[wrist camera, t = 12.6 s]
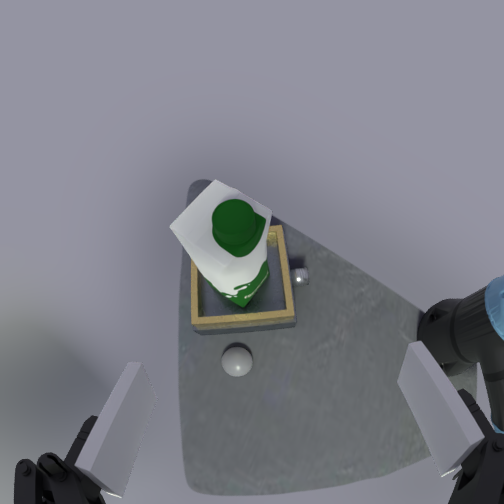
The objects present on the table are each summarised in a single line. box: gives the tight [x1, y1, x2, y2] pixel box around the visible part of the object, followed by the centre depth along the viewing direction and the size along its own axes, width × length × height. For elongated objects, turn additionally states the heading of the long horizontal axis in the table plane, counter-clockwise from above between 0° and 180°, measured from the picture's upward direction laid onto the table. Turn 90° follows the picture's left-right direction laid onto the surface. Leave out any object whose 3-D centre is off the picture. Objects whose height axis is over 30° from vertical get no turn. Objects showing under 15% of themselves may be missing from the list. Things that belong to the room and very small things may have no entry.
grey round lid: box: [222, 347, 253, 376], centre depth 43 cm, size 5×5×1 cm
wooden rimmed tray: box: [191, 225, 309, 335], centre depth 45 cm, size 19×16×8 cm
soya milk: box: [170, 179, 272, 308], centre depth 35 cm, size 9×9×20 cm
